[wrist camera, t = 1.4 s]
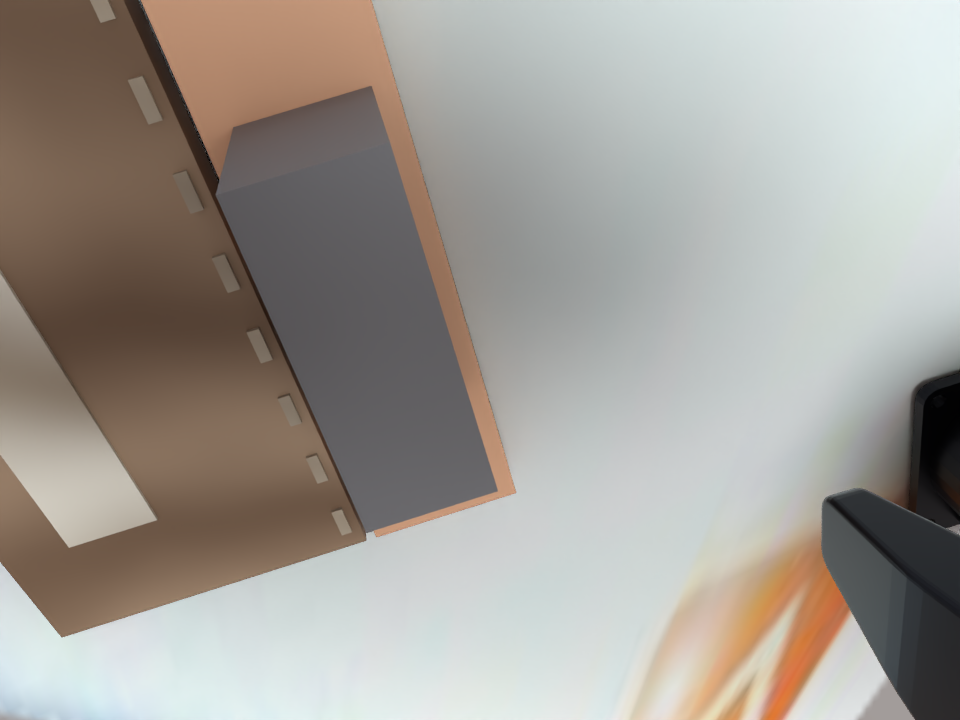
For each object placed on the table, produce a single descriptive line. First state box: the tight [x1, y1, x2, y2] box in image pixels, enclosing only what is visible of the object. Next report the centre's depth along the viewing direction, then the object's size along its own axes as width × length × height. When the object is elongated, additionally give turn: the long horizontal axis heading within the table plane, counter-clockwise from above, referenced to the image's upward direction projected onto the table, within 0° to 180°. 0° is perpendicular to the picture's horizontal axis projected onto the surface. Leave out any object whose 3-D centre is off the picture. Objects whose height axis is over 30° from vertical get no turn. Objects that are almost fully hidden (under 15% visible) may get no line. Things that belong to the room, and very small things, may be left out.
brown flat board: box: [0, 0, 366, 637], centre depth 19 cm, size 16×9×1 cm, turn 14°
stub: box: [141, 0, 516, 537], centre depth 18 cm, size 16×4×5 cm, turn 14°
